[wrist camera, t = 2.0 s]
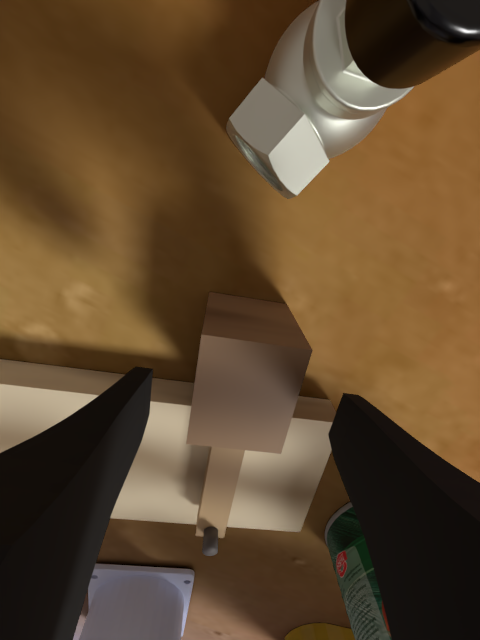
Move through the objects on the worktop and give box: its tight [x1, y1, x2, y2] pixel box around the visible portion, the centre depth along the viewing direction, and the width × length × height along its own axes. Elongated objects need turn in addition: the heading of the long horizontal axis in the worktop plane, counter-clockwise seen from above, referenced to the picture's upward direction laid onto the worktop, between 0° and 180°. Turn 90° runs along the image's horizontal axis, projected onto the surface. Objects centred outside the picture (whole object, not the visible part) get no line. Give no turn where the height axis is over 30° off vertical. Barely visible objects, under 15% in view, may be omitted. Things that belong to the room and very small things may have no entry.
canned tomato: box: [325, 502, 392, 640], centre depth 17 cm, size 8×8×11 cm
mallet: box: [186, 292, 312, 556], centre depth 15 cm, size 13×4×5 cm, turn 170°
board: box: [0, 359, 336, 532], centre depth 17 cm, size 9×26×2 cm, turn 80°
